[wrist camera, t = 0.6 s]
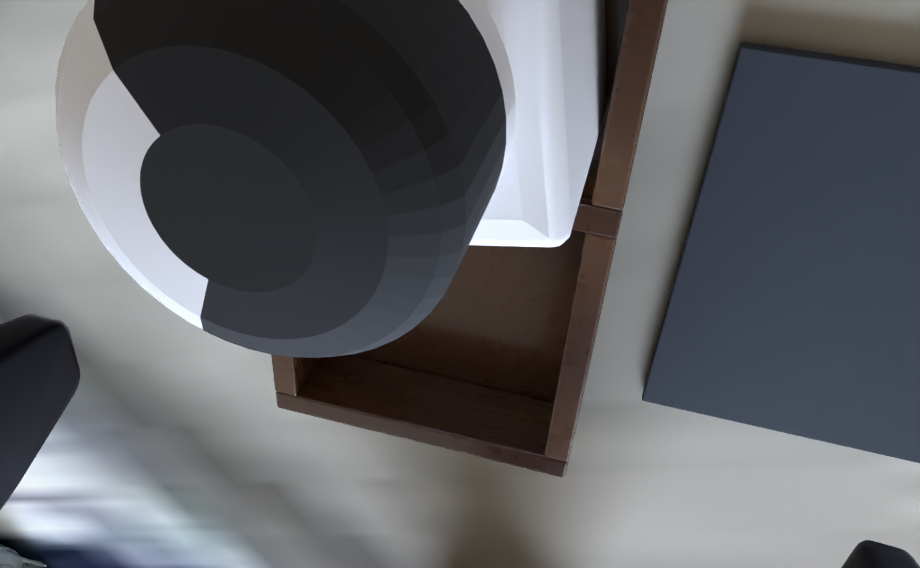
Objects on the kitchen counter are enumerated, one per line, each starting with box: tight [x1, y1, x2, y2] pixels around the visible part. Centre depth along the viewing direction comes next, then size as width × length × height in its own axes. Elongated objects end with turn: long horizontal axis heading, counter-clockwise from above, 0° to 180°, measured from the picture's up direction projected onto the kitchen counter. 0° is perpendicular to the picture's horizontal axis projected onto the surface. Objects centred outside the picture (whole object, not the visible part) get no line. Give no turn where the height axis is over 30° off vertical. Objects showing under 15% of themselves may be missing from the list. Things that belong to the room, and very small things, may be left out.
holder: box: [271, 0, 668, 477], centre depth 21 cm, size 19×10×3 cm, turn 177°
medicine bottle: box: [56, 0, 608, 358], centre depth 15 cm, size 7×7×12 cm
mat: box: [642, 42, 920, 463], centre depth 22 cm, size 12×9×1 cm
